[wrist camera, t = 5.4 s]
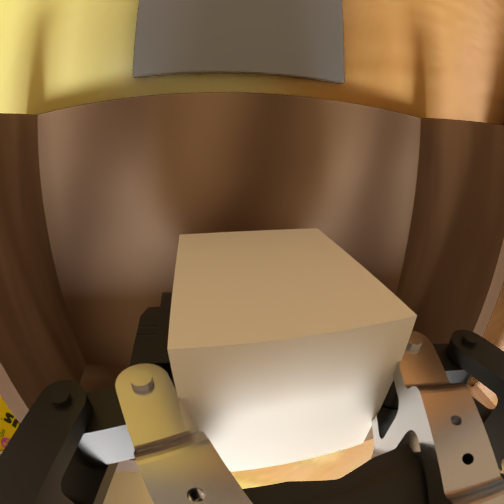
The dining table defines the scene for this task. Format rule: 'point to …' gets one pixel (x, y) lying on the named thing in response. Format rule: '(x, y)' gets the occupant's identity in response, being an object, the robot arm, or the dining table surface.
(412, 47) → the dining table surface
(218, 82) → the dining table surface
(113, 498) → the can
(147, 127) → the walnut box
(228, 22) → the slate mat
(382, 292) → the cream block
